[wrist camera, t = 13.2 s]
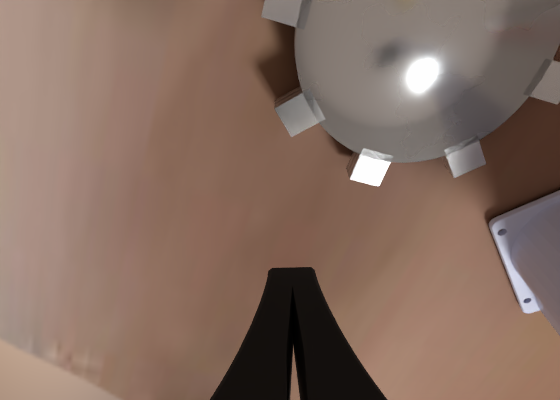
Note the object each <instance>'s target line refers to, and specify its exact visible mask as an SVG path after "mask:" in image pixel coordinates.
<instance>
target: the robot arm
mask: <svg viewBox="0 0 560 400" xmlns="http://www.w3.org/2000/svg"><path fill="white" fill-rule="evenodd" d="M489 228H490V231H491V233H492V236H493V238H494V241H495V244H496V246H497V249H498V251H499V254H500V257H501V259H502V262H503V264H504V267H505V269H506V272H507V275H508V277H509V280H510V282H511V285H512V288H513V290H514V293H515V295H516V298H517V300H518V303H519V306H520V308H521V309H522V311H523V312H524V313H533V312H536V311H539V310H541V312H542V313H543V314H544V316H545V317H546V318H547V320H548V321H549V322H550V324H551V325H552V326H553V328H554V329H555V330H556V332H557V333H558V334H559V336H560V190H559V191H557V192H554V193H552V194H549V195H547V196H545V197H542V198H540V199H538V200H535V201H533V202H530V203H528V204H526V205H523V206H521V207H519V208H516V209H514V210H511V211H509V212H507V213H504V214H502V215H500V216H497V217H495V218H493V219H492V220H491V221H490V222H489ZM501 229H502V230H501ZM499 230H501V231H499ZM498 231H499V232H498ZM293 346H294V354H295V362H296V370H297V378H298V385H299V393H300V400H387V399H386V397H385V396H384V395H383V393H382V392H381V391H380V389H379V388H378V387H377V385H376V384H375V383H374V381H373V380H372V378H371V377H370V375H369V374H368V373H367V371H366V370H365V368H364V367H363V365H362V364H361V362H360V361H359V359H358V358H357V356H356V355H355V353H354V352H353V350H352V348H351V347H350V345H349V343H348V342H347V340H346V338H345V337H344V335H343V333H342V331H341V330H340V328H339V326H338V324H337V322H336V320H335V318H334V316H333V314H332V312H331V311H330V309H329V306H328V304H327V302H326V300H325V298H324V296H323V293H322V291H321V288H320V286H319V283H318V280H317V277H316V274H315V270H314V269H313V268H311V267H298V268H272V269H270V270H269V271H268V277H267V282H266V286H265V289H264V292H263V295H262V298H261V301H260V304H259V306H258V309H257V311H256V314H255V316H254V319H253V321H252V324H251V326H250V328H249V330H248V332H247V334H246V336H245V339H244V341H243V343H242V345H241V347H240V349H239V351H238V353H237V355H236V357H235V358H234V360H233V362H232V364H231V366H230V368H229V369H228V371H227V373H226V374H225V376H224V378H223V380H222V381H221V383H220V384H219V386H218V388H217V389H216V391H215V392H214V394H213V396H212V397H211V399H210V400H290V391H291V374H292V357H293Z"/></svg>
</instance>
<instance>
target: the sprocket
mask: <svg viewBox="0 0 560 400" xmlns="http://www.w3.org/2000/svg"><path fill="white" fill-rule="evenodd" d="M261 17H263V18H266V19H270V20H273V21H277V22H280V23H283V24H287V25H290V26H293V27H295V33H294V50H295V61H296V67H297V73H298V79H299V82H300V85H301V86H299V87H297V88H296V89H294V90H292V91H290V92H289V93H287V94H285V95H283V96H281V97H280V98H278V99H276V100H275V106H274V109H275V111H276V112H277V114H278V116H279V117H280V119H281V121H282V122H283V124H284V126H285V127H286V129H287V131H288V132H289V134H290V136H291V137H292V136H294V135H296V134H298V133H300V132H302V131H304V130H306V129H308V128H309V127H311V126H313V125H315V124H317V123H320V124H321V125H322V127H323V128H324V129H325V130H326V131H327V132H328V133H329V134H330V135H331V136H332V137H333V138H335V139H336V140H337V141H338V142H339V143H341V144H343V145H344V146H346V147H347V148H349V149H350V150H353V153H352V155H351V158H350V160H349V163H348V165H347V168H346V169H347V172H348V176H349V179H350V180H354V181H358V182H363V183H367V184H371V185H375V186H379V185H380V183H381V181H382V179H383V177H384V175H385V173H386V170H387V168H388V166H389V164H390V162H402V163H405V162H419V161H425V160H431V159H435V158H439V157H442V159H443V162H444V165H445V167H446V168H447V170H448V171H449V172H450V173H451V175H452V176H453V177H454V178H455V177H458V176H460V175H462V174H465V173H467V172H469V171H471V170H474V169H476V168H478V167H480V166H483V165H485V164H486V162H485V158H484V155H483V152H482V149H481V145H480V142H479V140H480V139H482V138H483V137H485V136H486V135H488V134H490V133H491V132H492V131H494V130H495V129H496V128H498V127H499V126H500V125H501V124H503V123H504V122H505V121H506V120H507V119H508V118H509V117H510V116H511V115H513V114H514V113H515V112H516V111H517V110H518V109H519V108H520V106H521V105H522V104H523V103H524V102H525V101H526V100H527V98H528V97H529V96H530V97H533V98H537V99H540V100H544V101H547V102H550V103H554V104H558V103H559V102H560V62H559V61H556V60H553V58H554V56H555V53H556V51H557V49H558V47H559V44H560V0H265V2H264V7H263V12H262V16H261Z"/></svg>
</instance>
